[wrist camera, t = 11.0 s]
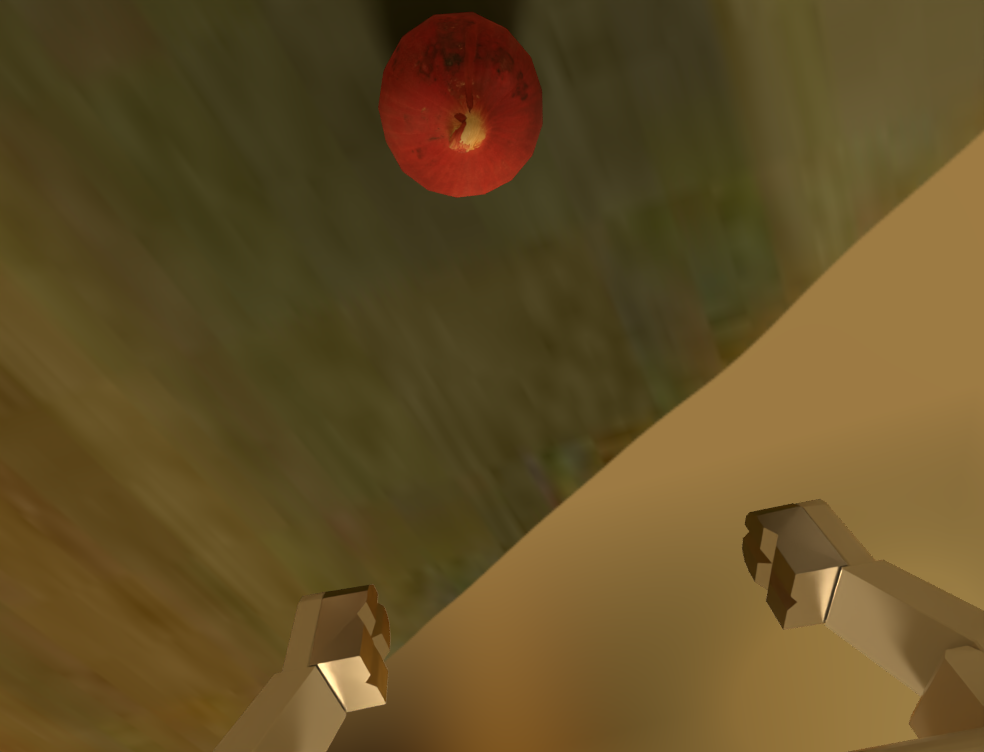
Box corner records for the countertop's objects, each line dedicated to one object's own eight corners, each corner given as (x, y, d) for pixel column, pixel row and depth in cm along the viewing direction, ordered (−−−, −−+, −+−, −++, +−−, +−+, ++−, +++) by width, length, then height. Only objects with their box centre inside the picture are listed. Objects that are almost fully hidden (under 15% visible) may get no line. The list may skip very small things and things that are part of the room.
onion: (373, 23, 21) (347, 18, 14) (521, 8, 21) (567, -3, 14) (399, 179, 24) (389, 237, 17) (528, 166, 24) (568, 217, 17)
